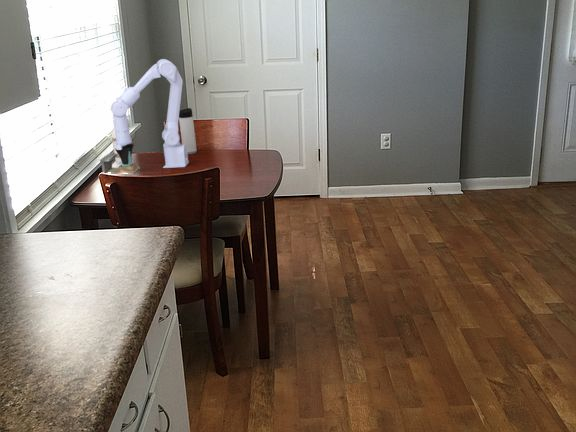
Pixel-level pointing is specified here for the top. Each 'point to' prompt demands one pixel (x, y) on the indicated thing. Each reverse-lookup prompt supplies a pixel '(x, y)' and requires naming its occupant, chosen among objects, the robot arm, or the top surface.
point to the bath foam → (117, 158)
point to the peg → (128, 162)
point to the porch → (118, 170)
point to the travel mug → (187, 130)
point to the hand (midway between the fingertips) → (127, 163)
